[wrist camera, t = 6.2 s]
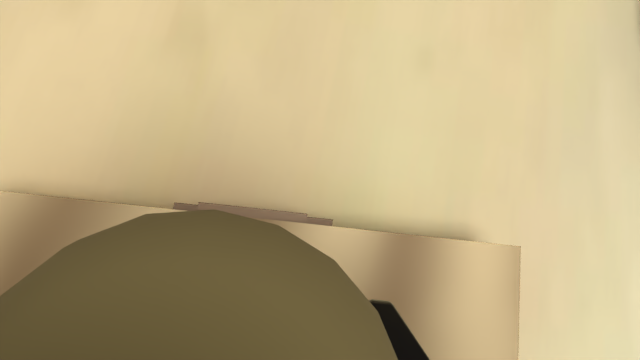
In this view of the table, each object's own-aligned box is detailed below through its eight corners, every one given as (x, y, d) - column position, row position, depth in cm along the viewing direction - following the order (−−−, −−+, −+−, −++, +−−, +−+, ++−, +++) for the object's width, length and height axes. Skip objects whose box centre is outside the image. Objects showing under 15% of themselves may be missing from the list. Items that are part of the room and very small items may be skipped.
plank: (506, 247, 20) (520, 246, 19) (501, 419, 19) (516, 430, 18) (-28, 190, 18) (-49, 185, 17) (-72, 377, 17) (-98, 386, 16)
